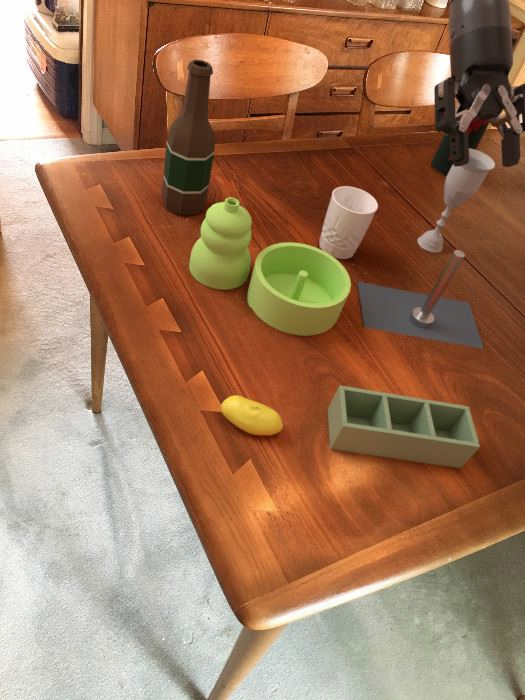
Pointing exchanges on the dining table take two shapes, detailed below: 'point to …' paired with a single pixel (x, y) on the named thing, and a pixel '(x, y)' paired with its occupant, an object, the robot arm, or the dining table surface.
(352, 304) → the dining table surface
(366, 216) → the white cup
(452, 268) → the metal rod stand
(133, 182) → the dining table surface
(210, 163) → the beer bottle
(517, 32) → the wine bottle
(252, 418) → the yellow potato
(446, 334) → the mat
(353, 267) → the dining table surface
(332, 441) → the caddy
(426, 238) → the chalice
